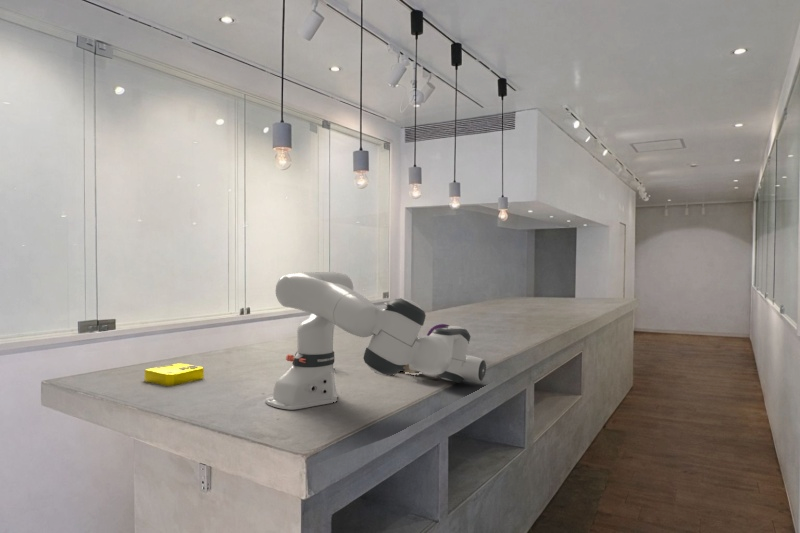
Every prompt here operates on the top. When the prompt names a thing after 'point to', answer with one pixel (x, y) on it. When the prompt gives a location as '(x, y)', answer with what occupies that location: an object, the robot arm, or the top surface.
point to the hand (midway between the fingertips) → (415, 359)
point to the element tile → (174, 374)
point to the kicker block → (410, 370)
